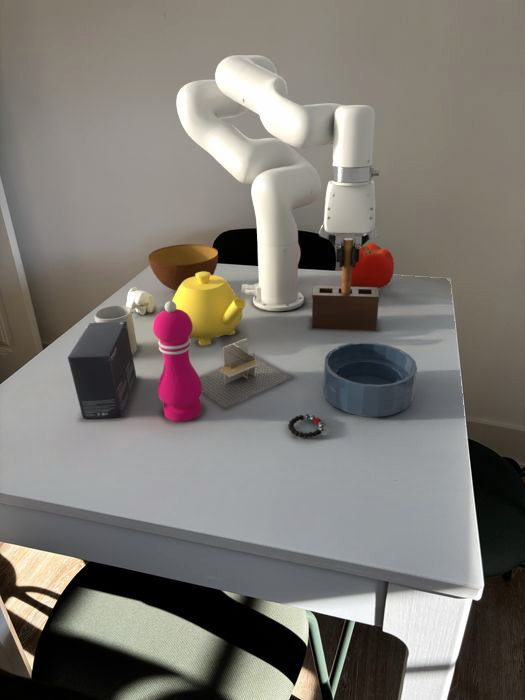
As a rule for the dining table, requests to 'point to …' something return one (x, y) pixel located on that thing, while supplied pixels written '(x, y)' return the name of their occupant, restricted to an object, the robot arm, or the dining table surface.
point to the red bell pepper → (372, 267)
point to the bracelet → (310, 434)
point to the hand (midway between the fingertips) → (347, 264)
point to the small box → (103, 369)
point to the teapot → (209, 306)
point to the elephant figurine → (140, 301)
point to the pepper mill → (177, 365)
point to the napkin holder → (240, 376)
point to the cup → (118, 314)
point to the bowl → (182, 263)
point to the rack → (345, 308)
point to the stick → (347, 266)
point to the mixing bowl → (369, 379)
